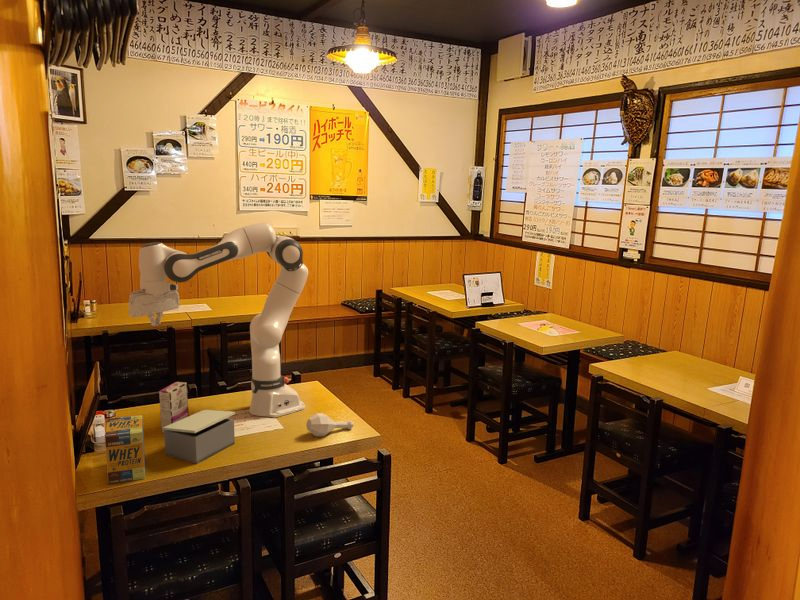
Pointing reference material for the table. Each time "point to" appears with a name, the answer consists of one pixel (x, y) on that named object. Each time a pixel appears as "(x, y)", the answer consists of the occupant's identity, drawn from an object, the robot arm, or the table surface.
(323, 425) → the chicken leg
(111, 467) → the protein box
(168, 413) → the candy bar box
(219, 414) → the lid
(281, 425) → the table surface
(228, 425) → the storage box
